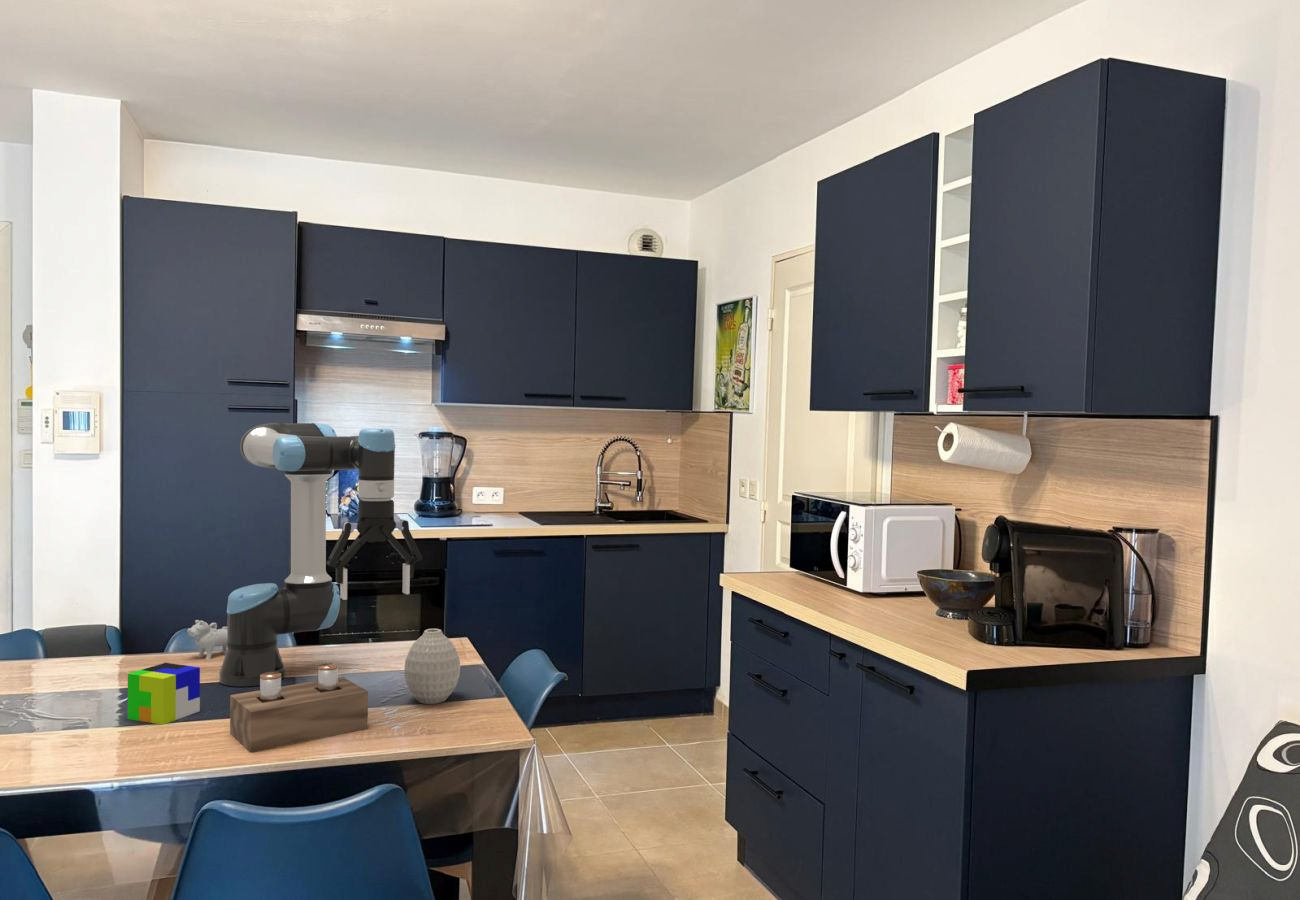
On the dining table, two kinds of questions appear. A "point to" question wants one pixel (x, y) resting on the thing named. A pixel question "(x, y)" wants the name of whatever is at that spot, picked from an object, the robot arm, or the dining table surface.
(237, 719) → the socket block
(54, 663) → the dining table surface
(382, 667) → the dining table surface
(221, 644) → the dog figurine
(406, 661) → the vase
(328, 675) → the peg
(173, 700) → the puzzle toy
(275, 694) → the peg
